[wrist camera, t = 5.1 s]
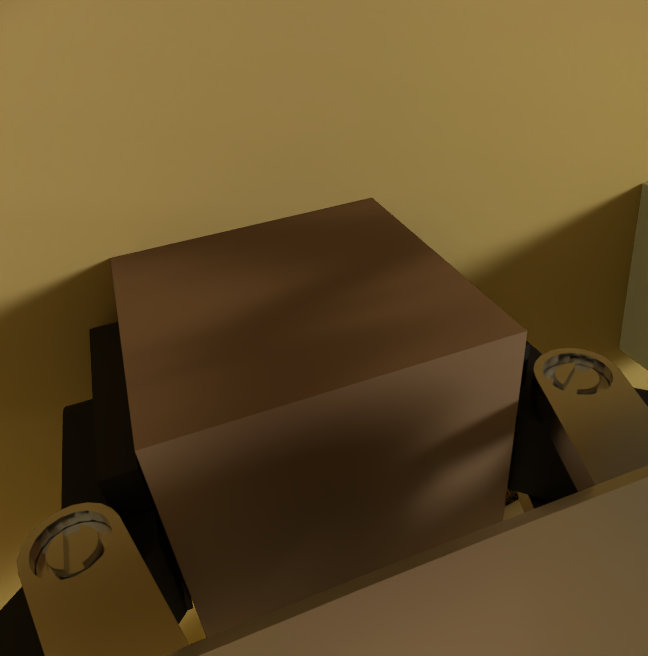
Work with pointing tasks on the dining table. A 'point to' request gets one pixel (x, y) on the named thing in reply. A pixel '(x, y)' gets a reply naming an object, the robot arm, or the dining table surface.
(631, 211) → the dining table surface
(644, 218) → the sage block
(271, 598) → the walnut block
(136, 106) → the dining table surface
